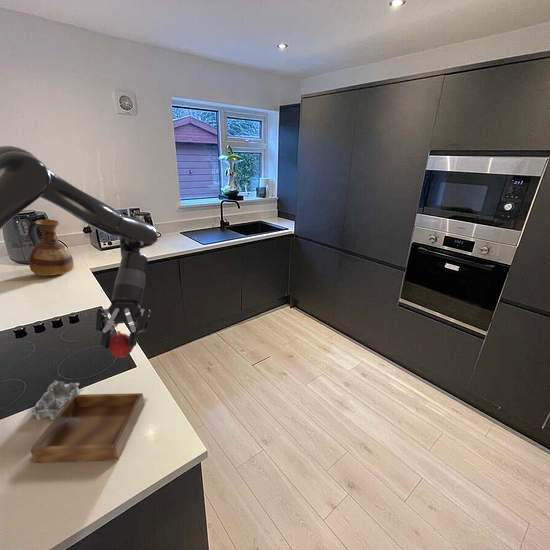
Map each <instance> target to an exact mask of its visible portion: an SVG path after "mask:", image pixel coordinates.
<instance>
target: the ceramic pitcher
mask: <svg viewBox="0 0 550 550" xmlns="http://www.w3.org/2000/svg"><path fill="white" fill-rule="evenodd" d="M59 225H60V222H59V221H58V220H55V219H38V220H35V221H33V222H31V223H30V224H29V226H28V236H29V238H30V241H31V242H32V244H33V248H32V250H31V252H30V255H29V258H28V267H29V269H30V270H31V273H33V274H34V275H38V276H43V277H45V276H49V275H50V276H57V274H58V275H63V274H66V273H69V272H71V271H73V269H74V265H75V263H74V259H73V255H72V254H71V252H70V250H69V249H68V247H67V246H65V244H63V243H61V242H59V241H58V239H57V230H56V229H57V227H58V226H59ZM37 228H39V229H40V231H41V241H40V239H39V237H38V234H37Z"/></svg>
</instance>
